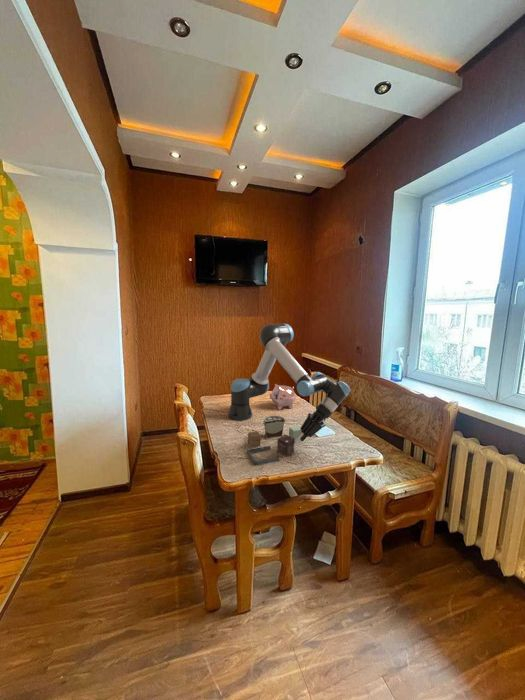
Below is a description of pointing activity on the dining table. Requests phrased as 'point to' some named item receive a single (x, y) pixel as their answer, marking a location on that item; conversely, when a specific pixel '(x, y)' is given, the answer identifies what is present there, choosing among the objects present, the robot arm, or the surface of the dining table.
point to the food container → (273, 426)
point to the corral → (263, 461)
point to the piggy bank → (283, 396)
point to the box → (285, 445)
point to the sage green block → (294, 432)
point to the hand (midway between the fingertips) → (295, 444)
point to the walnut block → (254, 439)
